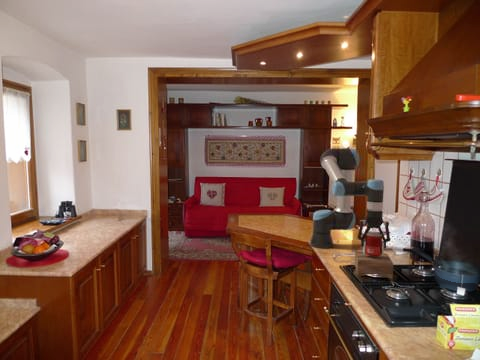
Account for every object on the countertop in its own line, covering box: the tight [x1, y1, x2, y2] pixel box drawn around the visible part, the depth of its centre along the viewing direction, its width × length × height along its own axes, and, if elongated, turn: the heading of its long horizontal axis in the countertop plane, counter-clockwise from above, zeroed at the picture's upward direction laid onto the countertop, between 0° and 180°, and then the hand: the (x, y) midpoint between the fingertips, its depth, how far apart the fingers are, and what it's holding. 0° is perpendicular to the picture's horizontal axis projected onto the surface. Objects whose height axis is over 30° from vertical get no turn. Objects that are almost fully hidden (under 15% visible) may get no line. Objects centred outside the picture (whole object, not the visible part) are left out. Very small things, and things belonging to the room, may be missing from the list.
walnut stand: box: [354, 250, 394, 280], centre depth 164 cm, size 16×16×8 cm
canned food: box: [365, 230, 383, 256], centre depth 163 cm, size 8×8×11 cm
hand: (373, 253), depth 163 cm, fingers closed on canned food, 8 cm apart
